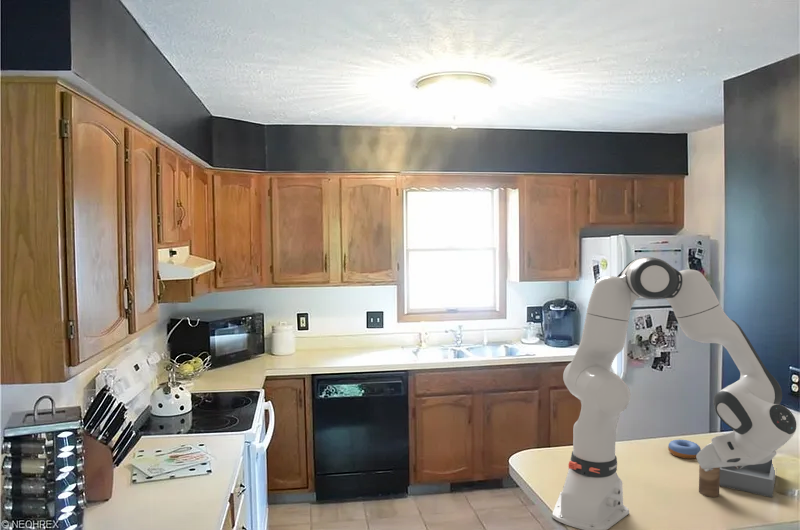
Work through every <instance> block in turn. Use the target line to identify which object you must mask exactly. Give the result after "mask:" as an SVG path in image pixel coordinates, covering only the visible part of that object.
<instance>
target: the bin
mask: <svg viewBox="0 0 800 530" xmlns="http://www.w3.org/2000/svg"><path fill="white" fill-rule="evenodd" d="M772 459H773V458H772ZM772 459H771V460H770V461H769V462H767V463H764V464H755V465H747V466H744V467H742V468H740V469H736V468H735V466H730V467H720V484H719V487H724V488H728V489H732V490H738V491H740V492H741V491H742V492H747V493H751V494H756V495H759V496H764V497H769V498H773V495H774V490H775V485H774V484H775V483H776V479H775V470H774V467H773V464H772Z"/></svg>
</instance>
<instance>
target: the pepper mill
mask: <svg viewBox="0 0 800 530" xmlns="http://www.w3.org/2000/svg"><path fill="white" fill-rule="evenodd" d="M698 465H699V464H698ZM698 467H699V469H698V471H699V472H698V473H699V474H698V493H699V494H701V495H702V496H704V495H705V496H704V497H709V498H716V497H717V498H718V497H719V496H720V486H719V484H720V467H719V468H713V470H711V471H705V470H704V469H702V468H701V466H700V465H699V466H698Z"/></svg>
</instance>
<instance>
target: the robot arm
mask: <svg viewBox="0 0 800 530" xmlns="http://www.w3.org/2000/svg"><path fill="white" fill-rule="evenodd" d="M640 298H642V299H648V300H659V299H662V300H663V299H665V300H666V301H667V302H668V303H669V305H670V306H671V308H672V310H673V314H674V317H675V318H676V321H677V324H678V325H679V327H680V329H681V331H682V332H683V333H684V335H685V337H687V338H688V339H690V340H692V341H693V342H694V341H695V342H698V343H702V344H719V345H721V346H722V347H724V348H725V349H726V351H727V352H728V354H729V356H730V357H731V359H732V360H733V362H734V365H736V367H737V369H738V371H739V373H740V376H739V379H738V380H737V381H735V382H733V383H731V384H729V385H726V386H725V387H724V388H722V389H720V390H719V391H716V393H715V394H714V396H713V400H712V401H713V402H712V403H713V404H712V405H713V408H714V411H715V413H716V415H717V416H718V418H719V419H721V421H722V422H723V423H724V424H725V425H727V426H728V428H730V429H732V430H733V431H730V432H728V433H724V434H719V435H717V436H714V437H712V438H711V439H710V440H711V442H710V443H708V444H706V445H705V446H704V447H702V448H701V451H700V452H699V453H698V454H697V455H696V458H695V459H696V461H697V463H698V465H700V466H701V468H702V469H704V470H705V471H711V470H713V468H719V467H730V466H735V468H736V469H740V468H742V467H744V466H747V465H755V464H764V463H767V462H769V461H770V460H771V459H774V457H776V455H777V450H779V449H780V448H781V447H783V446H784V445H785V444H787V443H788V442H789V441H790V440H791V438H792V437H793V436H794V435H795V433H796V430H797V420H796V417H795V416H794V414H793V412H792V411H791V410H790V409H789V408H788V407H786V406H784V405H782V404H781V403H782V400H783V391H782V388H781V385H780V384H779V382H778V381H777V379H776V378H775V377H774V376H773V375H772V374H771V372H769V370H768V369H767V367H766V366H765V364H764V363H763V361H762V360H761V358H760V356H759V354H758V353H757V351H756V349H755V348H754V346H753V344H752V343H751V341H750V340H749V337H748V336H747V335H746V333H745V331H744V330H743V329H742V327H741V326H740V325H739V324H738V323H737V322H736V321H735V320H733V319H731V318H729V317H728V315H727V314H726V313H725V311H724V309H723V308H722V305H721V304H720V301H719V299H718V297H717V295H716V293H715V291H714V290H713V288H712V286H711V285H710V283H709V281H708V280H707V279H706V277H705V276H704V274H703V273H702V272H701V271H699V270H696V269H689V268H688V269H683V270H678V269H676V268H675V267H673V266H672V265H670V264H669V263H668V262H667V261H664V260H663V259H660V258H656V257H652V256H643V257H639V258H636V259H633V260H631V261H630V262H629V263H628V264H627V265H626V266H625V267H624V268H623V269H622V270H621V272H619V274H618V275H617V276H614V275H608V276H603V277H601V278H599V279H597V280H596V282H595V284H594V286H593V288H592V291H591V294H590V298H589V301H588V305H587V310H586V315H585V319H584V320H585V321H584V325H583V329H582V335H581V339H580V342H579V345H578V347H577V350H576V352H575V354H574V356H573V359H572V360H571V362H569V363H568V364H567V365H566V367H565V368H564V369H563V370H564V371H563V375H562V381H563V382H564V385H565V387H566V388H567V390H568V391H569V393H570V394H572V396H574V397H575V398H577V399H578V400H579V402H580V404H581V409H580V412H579V416H578V418H577V420H576V421H575V422H574V424H573V430H572V431H573V433H572V434H573V435H572V436H573V437H572V438H573V442H572V445H573V447H572V451H571V456H570V460H569V461H568V466H567V467H568V472H567V475H566V478H565V482H564V485H563V487H562V491H560V492H559V494H558V498H557V500H556V502H555V505H554V508H553V510H552V512H551V518H553V519H554V520H556V521H557V522H559V523H562V524H564V525H566V526H569V527H573V528H575V529H579V530H609V529H610V528H611V527H612V526H614V525H616V524H618V522H620V521H621V520H623V518H625V517H626V516H627V515H629V514H630V509H629V508H628V507H627V506H626V505H624V494H623V493H624V491H623V480H622V479H621V478H620V477H619V475H618V473H617V471H618V459H617V455H616V436H617V434H616V433H617V427H618V423H619V419H620V416H621V414H622V413H623V412H624V411H625V410H627V408H628V406H629V405H630V401H631V390H630V388H629V386H628V384H627V383H626V382H624V380H623V379H622V378H621V377H620V376H619V375H618V374H616V373H614V372H612V371H611V367H612V364H613V362H614V360H615V358H616V356H617V355H618V354H620V353H621V352H622V351H623V350H624V348H625V343H626V339H627V338H626V337H627V333H628V326H629V320H630V315H631V309H632V308H633V304H634V303H635V302H636V300H638V299H640Z"/></svg>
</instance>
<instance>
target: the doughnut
mask: <svg viewBox="0 0 800 530" xmlns="http://www.w3.org/2000/svg"><path fill="white" fill-rule="evenodd" d="M667 449H668V452H669V453H670V454H671V455H673V456H675V457H677V458H681V459H686V458H687V460H688V459H690V460H691V459H697V458H696V455H697V454H698V453H699V452H700V451H701V450H702V448H701V447H700V445H699V444H698V443H697V442H694V441H691V440H688V439H673V440H671V441H670V442H669V443H668V446H667Z"/></svg>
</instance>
